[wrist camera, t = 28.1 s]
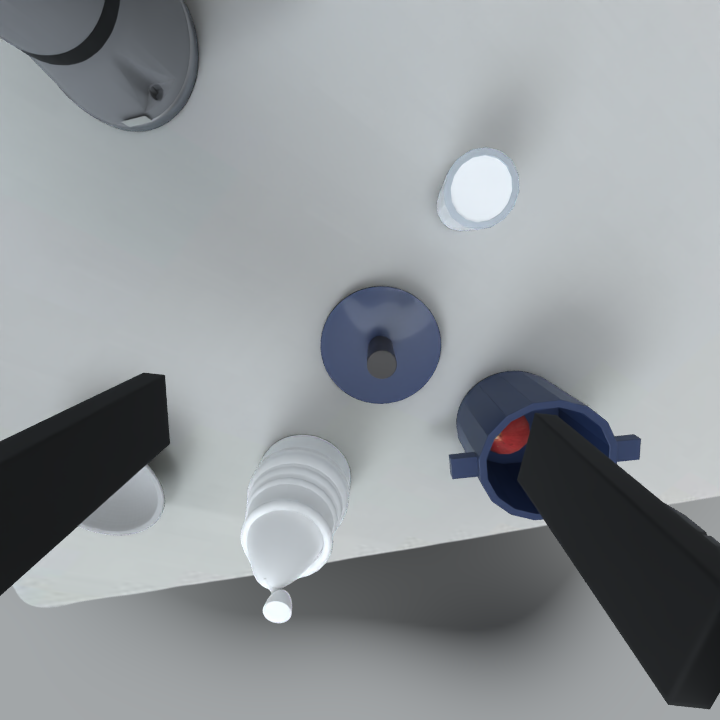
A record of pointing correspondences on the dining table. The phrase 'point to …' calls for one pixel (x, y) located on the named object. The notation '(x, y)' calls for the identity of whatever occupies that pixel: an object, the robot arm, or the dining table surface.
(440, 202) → the white tapered cylinder
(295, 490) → the honey pot
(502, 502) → the pot
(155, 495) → the dish
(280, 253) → the dining table surface
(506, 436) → the onion
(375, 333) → the lid
